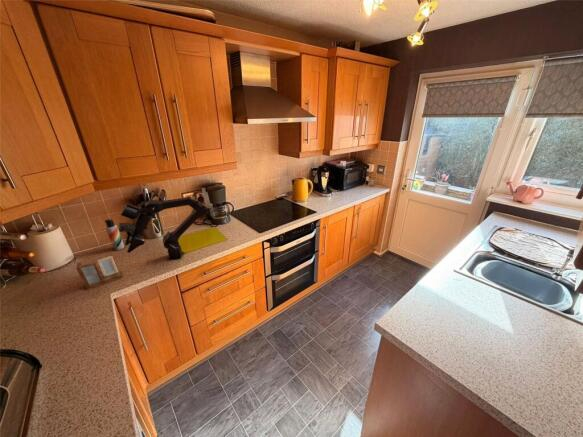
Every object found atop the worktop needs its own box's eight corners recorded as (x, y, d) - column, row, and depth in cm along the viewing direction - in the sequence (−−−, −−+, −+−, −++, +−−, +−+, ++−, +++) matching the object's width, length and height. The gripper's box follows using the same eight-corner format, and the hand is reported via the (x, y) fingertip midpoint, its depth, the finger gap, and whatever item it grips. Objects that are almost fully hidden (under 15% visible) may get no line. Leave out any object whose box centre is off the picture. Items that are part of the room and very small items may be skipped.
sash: (118, 271, 122) (111, 255, 118) (118, 272, 122) (111, 256, 117) (104, 275, 119) (97, 259, 115) (104, 276, 118) (97, 261, 114)
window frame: (120, 272, 124) (112, 252, 118) (121, 277, 120) (112, 257, 115) (87, 283, 116) (76, 263, 111) (86, 289, 113) (76, 268, 107)
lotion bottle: (112, 250, 143) (100, 222, 134) (115, 246, 148) (104, 218, 139) (122, 249, 144) (111, 220, 135) (125, 244, 149) (115, 217, 140)
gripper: (122, 211, 122) (107, 237, 121) (127, 223, 109) (110, 252, 108) (145, 218, 130) (131, 243, 129) (151, 231, 116) (136, 258, 116)
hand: (127, 248), depth 120 cm, fingers open, 9 cm apart
